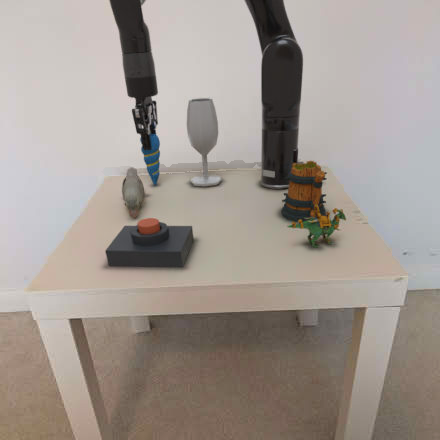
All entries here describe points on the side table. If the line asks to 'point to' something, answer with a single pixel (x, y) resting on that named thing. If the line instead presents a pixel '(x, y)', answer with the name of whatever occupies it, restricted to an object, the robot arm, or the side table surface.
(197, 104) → the wineglass
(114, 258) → the buzzer
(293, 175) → the mug
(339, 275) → the side table surface
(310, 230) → the figurine
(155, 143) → the ornament
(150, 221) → the button
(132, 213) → the decorative bird
